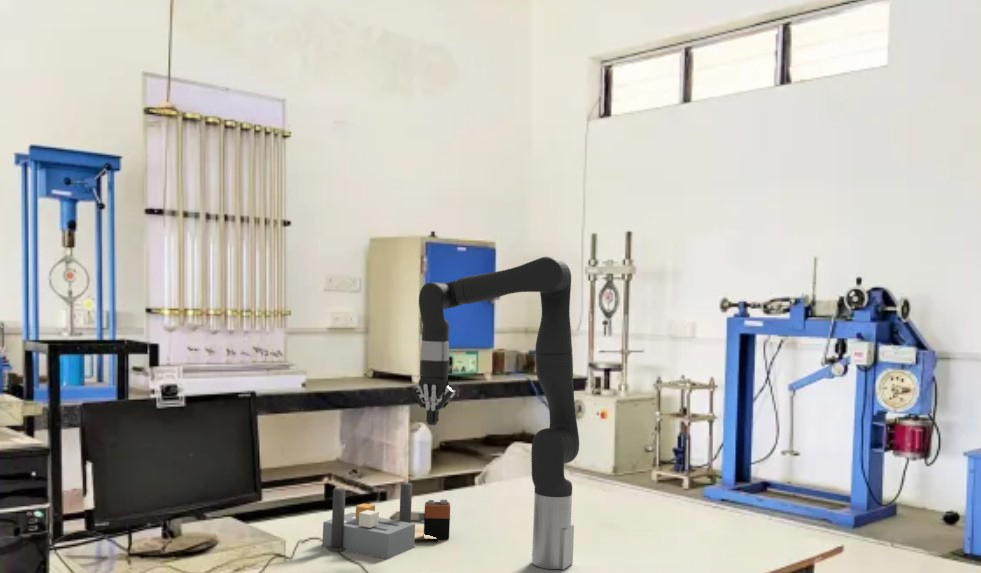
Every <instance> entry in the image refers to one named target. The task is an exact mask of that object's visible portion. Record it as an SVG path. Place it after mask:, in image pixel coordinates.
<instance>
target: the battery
mask: <svg viewBox="0 0 981 573" xmlns="http://www.w3.org/2000/svg"><path fill="white" fill-rule="evenodd" d="M423 515H424V516H423V517H424V519H423V520H424V521H423V535H424V534H425V535H430V536H433V537H436V538H437V539H438V541H439V540H440V541H441V540H443V541H445V540H446V541H447V540H449V539H450V529H451V528H450V523H451V502H449V501H448V500H447V499H440V500H439V501H435V500H434V499H428V500H427V501H425V503H424V514H423Z"/></svg>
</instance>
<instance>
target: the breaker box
mask: <svg viewBox="0 0 981 573" xmlns="http://www.w3.org/2000/svg"><path fill="white" fill-rule="evenodd" d="M331 534H332V518H331V519H327V520H325V521H323V523H322V547H327V548H328V546H330V545H331ZM415 535H416V523H413V522H411V523H408V522H402V521H399V520H396V519H391V518H385V517H379V521H378V525H376V526H374V527H371V528H369V527H363V526H359V519H356V512H349V513H346V514H344V530H343V548H345V551H346V552H351V553H356V554H361V555H365V556H371V557H375V558H382V559H385V560H386V559H387V560H388V559H392V558H393V557H396V556H398V555H400V554H403V553H405V552H407V551H410V550H411V549H413V548H415V541H416V540H415V538H416V537H415Z"/></svg>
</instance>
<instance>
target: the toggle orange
mask: <svg viewBox="0 0 981 573" xmlns="http://www.w3.org/2000/svg"><path fill="white" fill-rule="evenodd" d="M366 510H370V511H376V505H374V504H371V503H369V504H368V503H361V504H358V505H356V506H355V513H356V519H359V513H360V512H363V511H366Z"/></svg>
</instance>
